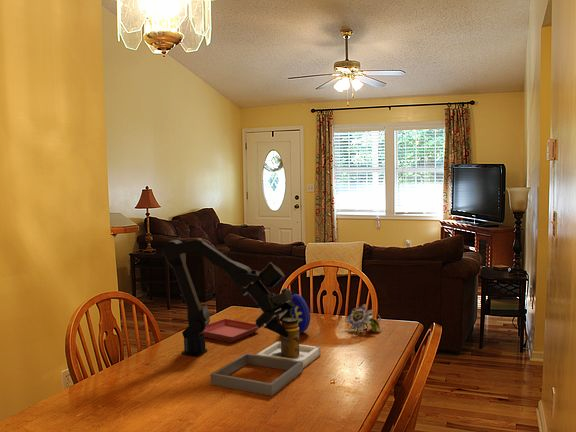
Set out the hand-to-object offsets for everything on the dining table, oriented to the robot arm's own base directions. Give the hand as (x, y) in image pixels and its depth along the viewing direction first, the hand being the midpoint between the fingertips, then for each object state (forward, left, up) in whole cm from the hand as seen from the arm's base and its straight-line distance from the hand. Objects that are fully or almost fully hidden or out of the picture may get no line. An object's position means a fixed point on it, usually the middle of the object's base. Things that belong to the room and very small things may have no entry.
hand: (292, 333), depth 170 cm
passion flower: (+11, +41, -9) cm, 43 cm away
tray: (-1, 0, -8) cm, 8 cm away
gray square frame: (-2, -19, -8) cm, 21 cm away
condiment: (-2, 0, -8) cm, 8 cm away
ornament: (-11, +27, -9) cm, 31 cm away
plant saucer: (-34, +15, -9) cm, 38 cm away
